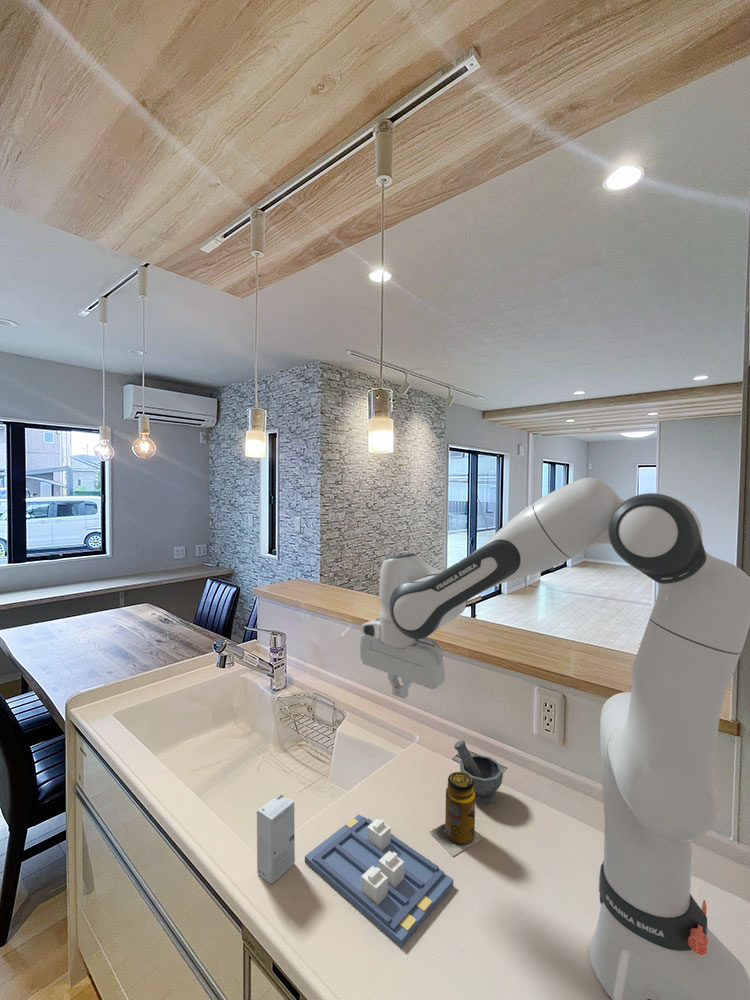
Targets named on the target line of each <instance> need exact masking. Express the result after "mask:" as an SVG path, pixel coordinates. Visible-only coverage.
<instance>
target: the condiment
mask: <svg viewBox="0 0 750 1000" xmlns="http://www.w3.org/2000/svg"><path fill="white" fill-rule="evenodd" d="M475 818H476V803H475V792H474V788H473V779H472V778H471V776H469V775H468V774H466V773H463V772H460V771H455V772H452V773H450V774H449V775H448V777H447V787H446V789H445V822H444V823H443V824H441V825H439V826H437V827H435V828H433V829H432V830H430V831H429V833H430V834H431V836H432V837H433V838H434V839H436V841H438V843H439V844H440V845H441V846H442V847H443V848H444V849H445V850H446V851H447V852H448V853H450V854H451V855H452V856H453V857H455V856H456V855H457V854H460V853H461V852H463V851H464V850H466V849H468V848H470V847H472V846H474V845H475V844H476V843H478V842H479V841H481V840H483V839H484V838H485V837H484V836H482V835H481V834H480V833H479V832H478V831H476V829H475V828H476V827H475V824H476V822H475V821H476V819H475Z"/></svg>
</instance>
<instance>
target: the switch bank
mask: <svg viewBox="0 0 750 1000" xmlns="http://www.w3.org/2000/svg"><path fill="white" fill-rule="evenodd" d="M372 822H374V821H373V820H371V819H370V818H366V817H365V816H362V815H361V814H360V813H358V814H357V815H356V816H355V817H354V818H352V819H351V820H350V821H348V822H347V823H345V825H343V826H342V827H341V828H339V829H338V830H337V831H335V832H334V833H333V834H331V835H330V836H329V837H328V838H326V839H325V840H324V841H322V842H321V843H319V844H318V845H317V846H316V847H315V848H313V849H312V850H311V851H309V852H307V854H305V855H304V862H305V863H306V864H307V865H308V867H310V868H311V869H312V870H313V871H314V872H316V874H318V875H319V876H320V877H321V878H322V879H323V880H324V881H325V882H326V883H328V884H329V885H330V886H331V887H332V888H333V889H334V890H336V891H337V892H338V893H339V894H340V895H341V896H342V897H343V898H345V900H347V901H348V902H349V903H350V904H351V905H352V906H353V907H354V908H356V909H357V910H358V911H359V912H360V913H361V914H363V916H365V917H366V918H367V919H368V920H369V921H370V922H372V923H373V924H374V926H376V927H377V928H378V929H379V930H381V932H383V933H384V934H385V935H386V936H387V937H388V938H390V940H391V941H393V942H394V943H395V944H396V945H397V946H399V947H400V948H403V947H404V946H405V944H406V943H407V942H408V941H409V940H410V938H411V937H413V934H415V932H416V931H417V930H418V928H420V926H421V925H422V924H423V922H425V920H426V919H427V918H428V917H429V916H430V915H431V913H432V912H433V911H434V909H436V907H437V906H438V905H439V903H440V902H441V901H442V900H443V899H444V898H445V897H446V895H448V893H449V891H450V890H452V888H453V886H454V879H453V877H450V876H449V875H448V874H447V873H445V871H444V870H442V869H441V868H440V867H439V866H438V865H437V864H436V863H434V862H432V861H431V860H430V859H428V858H427V857H426V856H424V855H423V854H421V853H419V852H418V851H417V850H415V849H414V848H412V847H411V846H409V845H408V844H406V843H405V842H404V841H402V840H400V839H399V838H397V837H396V836H395V835H394V834H392V833H391V843H390V844H389V845H388V846H387V847H386V848H385V849H383V850H382V851H381V850H379V849H378V848H377V847H375V846H374V845H373V844H371V843H370V842H369V841H367V827H368V826H369V825H370V824H371V823H372ZM388 851H390V852H392V853H393V852H395V853H396V854H397V857H399V858H400V859H401V860H403V861H404V879H403V880H402V881H401V882H400V883H399V884H398V885H397V886H396V887H395V888H393V887H392V886H391V885H390V884H388V895H387V896H386V897H385V898H384V899H383V900H382V901H381V902H380V903H379V905H378V906H377V905H376V904H375V903H373V902H372V901H371V900H370V899H369V898H367V897H366V896H365V895H364V894H363V893H362V892H361V876H362V875H363V874H364V873H365V872H366V871H367V870H368V869H370V868H371V867H372V866H374V867H375V868H377V867H378V868H379V860H380V859H381V858H382V857H383V856H384V855H385V854H386V853H387V852H388Z"/></svg>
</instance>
